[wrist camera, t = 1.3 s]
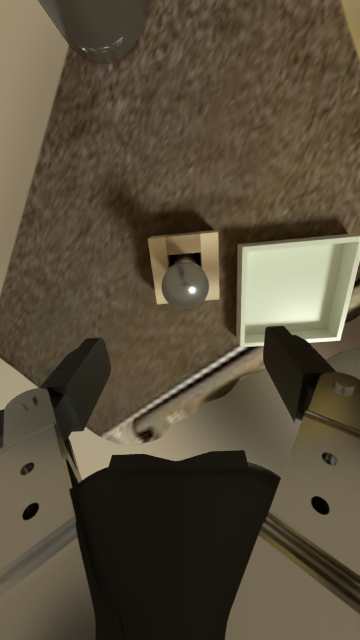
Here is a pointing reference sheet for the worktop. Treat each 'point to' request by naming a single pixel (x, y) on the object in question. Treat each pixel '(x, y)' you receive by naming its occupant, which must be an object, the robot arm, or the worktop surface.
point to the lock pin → (185, 283)
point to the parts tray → (295, 287)
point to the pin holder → (185, 244)
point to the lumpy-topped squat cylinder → (346, 362)
